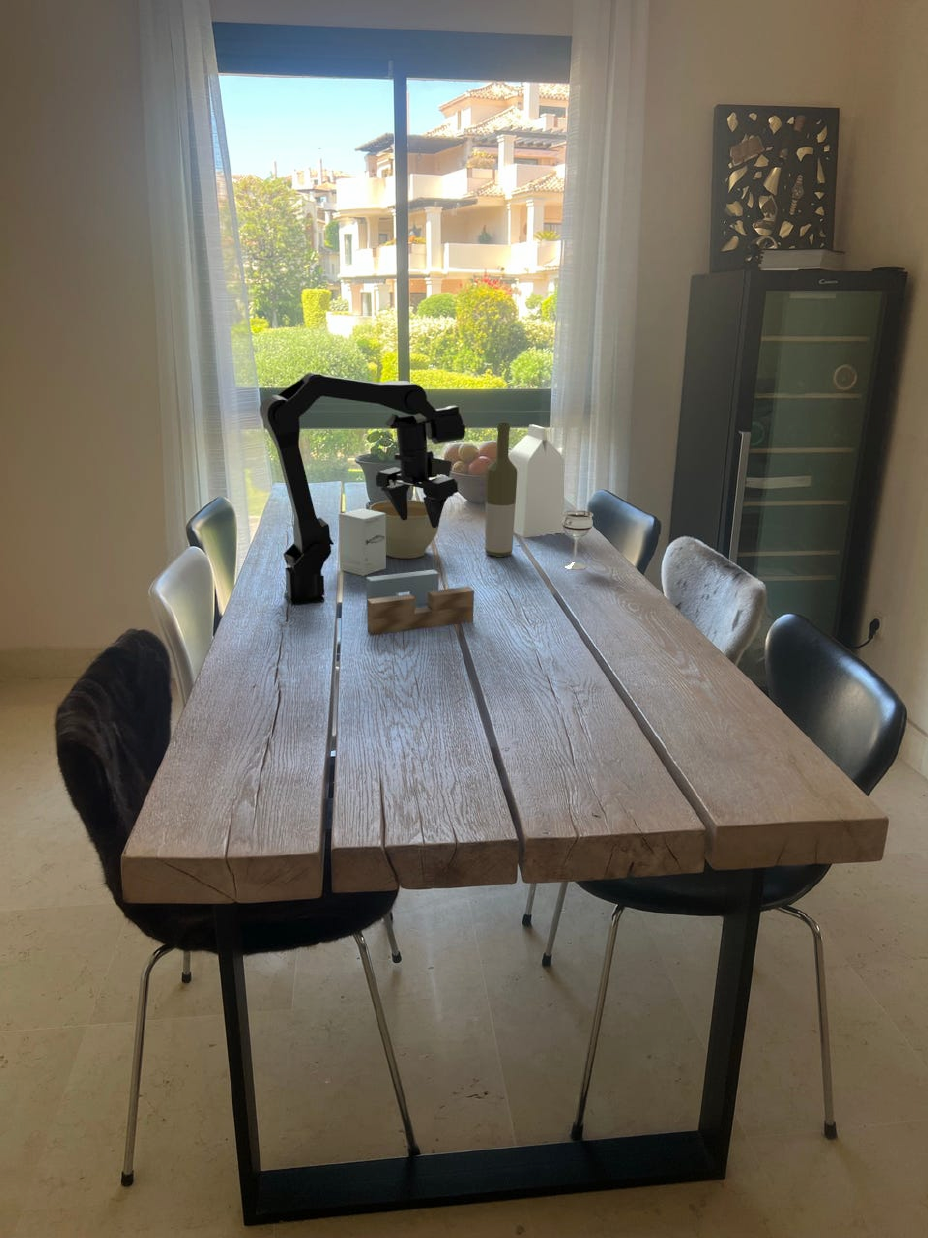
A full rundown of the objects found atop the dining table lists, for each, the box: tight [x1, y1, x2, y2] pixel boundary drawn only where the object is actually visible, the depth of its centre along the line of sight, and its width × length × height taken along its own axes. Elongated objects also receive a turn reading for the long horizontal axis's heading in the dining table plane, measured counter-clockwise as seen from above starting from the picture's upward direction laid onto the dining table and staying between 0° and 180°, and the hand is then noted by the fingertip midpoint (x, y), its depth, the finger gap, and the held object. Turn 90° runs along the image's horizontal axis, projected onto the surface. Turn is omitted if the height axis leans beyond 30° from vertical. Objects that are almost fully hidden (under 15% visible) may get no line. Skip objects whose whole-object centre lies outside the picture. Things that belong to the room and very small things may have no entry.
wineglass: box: [562, 509, 594, 570], centre depth 209 cm, size 7×7×12 cm
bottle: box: [484, 422, 518, 558], centre depth 213 cm, size 7×7×30 cm
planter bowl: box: [369, 499, 440, 560], centre depth 215 cm, size 16×16×11 cm
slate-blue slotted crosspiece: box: [366, 569, 440, 606], centre depth 184 cm, size 14×2×6 cm, turn 115°
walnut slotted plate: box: [366, 586, 475, 636], centre depth 173 cm, size 20×2×6 cm, turn 115°
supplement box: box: [338, 508, 387, 577], centre depth 203 cm, size 7×7×13 cm
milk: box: [508, 423, 566, 538], centre depth 235 cm, size 12×12×26 cm
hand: (419, 523), depth 191 cm, fingers open, 9 cm apart
